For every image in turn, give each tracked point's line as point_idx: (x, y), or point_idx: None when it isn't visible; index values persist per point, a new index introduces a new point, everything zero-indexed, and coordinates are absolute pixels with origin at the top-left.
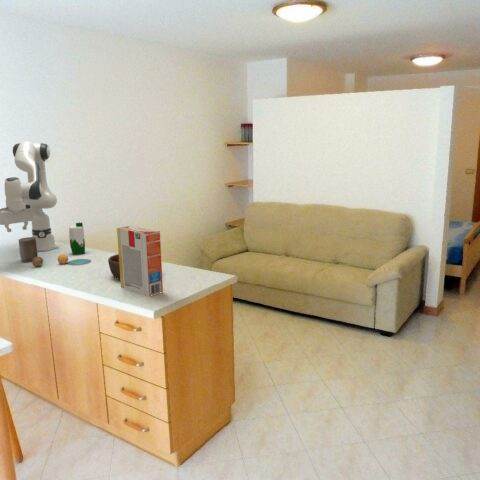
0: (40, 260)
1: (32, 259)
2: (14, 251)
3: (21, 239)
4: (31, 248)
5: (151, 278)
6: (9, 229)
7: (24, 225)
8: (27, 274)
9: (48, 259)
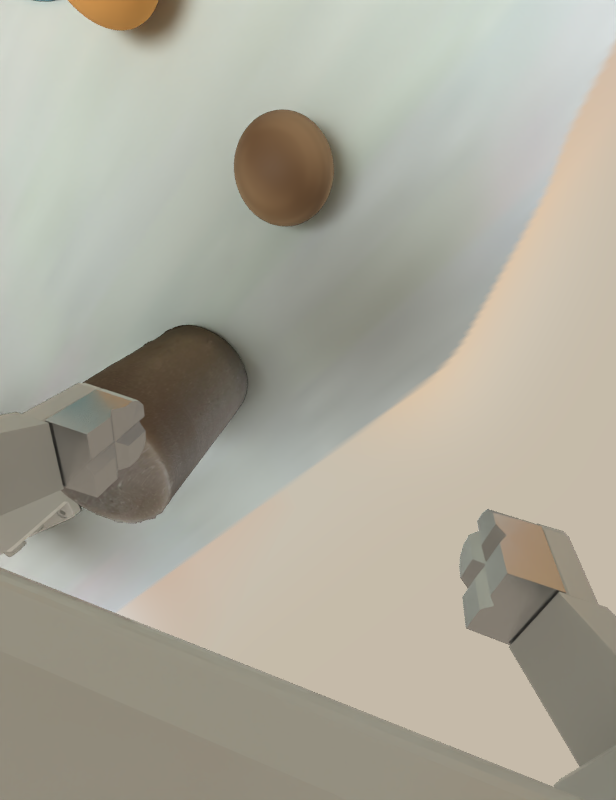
0: (284, 111)
1: (309, 202)
2: (127, 553)
3: (140, 496)
4: (157, 369)
5: None
6: (571, 579)
7: (28, 485)
8: (576, 9)
9: (122, 266)
